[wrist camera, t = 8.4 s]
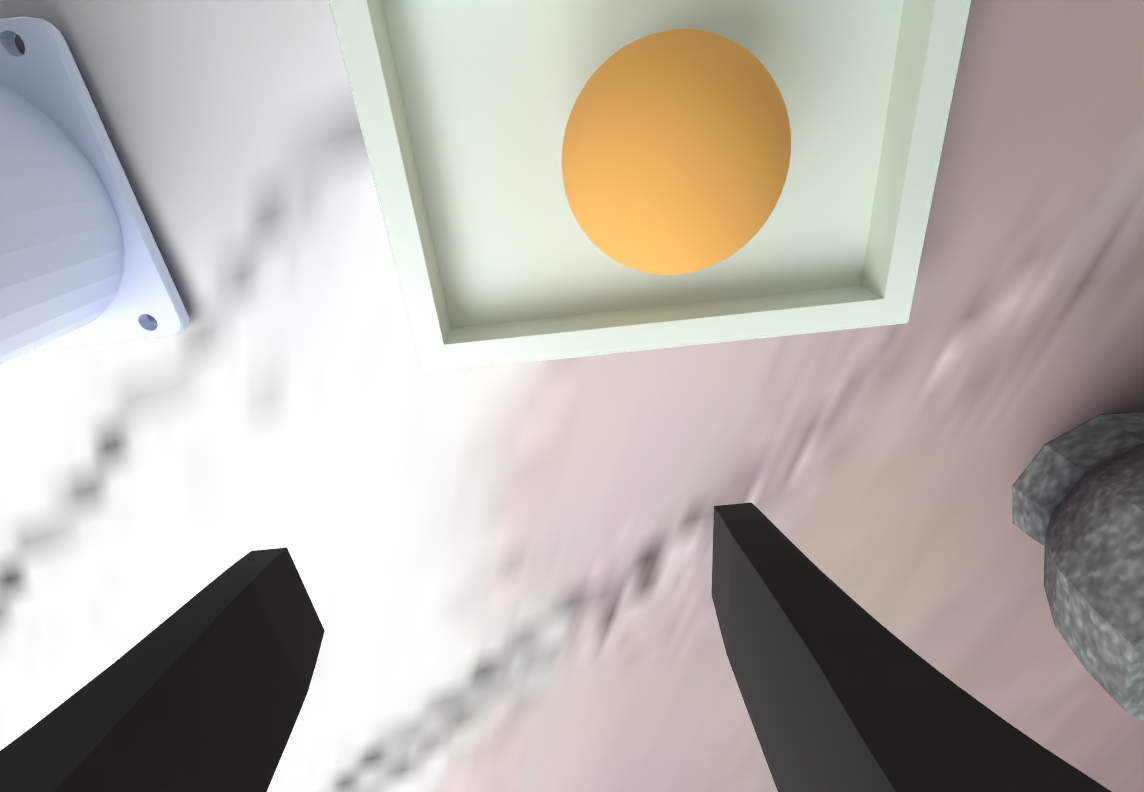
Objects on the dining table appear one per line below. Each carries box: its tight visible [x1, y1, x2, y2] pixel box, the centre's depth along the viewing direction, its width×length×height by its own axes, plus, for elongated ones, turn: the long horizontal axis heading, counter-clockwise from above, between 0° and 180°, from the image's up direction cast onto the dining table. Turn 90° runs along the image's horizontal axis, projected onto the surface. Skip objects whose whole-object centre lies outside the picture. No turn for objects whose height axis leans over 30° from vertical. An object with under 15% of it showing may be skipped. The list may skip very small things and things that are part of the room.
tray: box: [329, 0, 971, 373], centre depth 14 cm, size 14×10×2 cm
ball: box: [562, 29, 791, 275], centre depth 12 cm, size 5×5×5 cm
